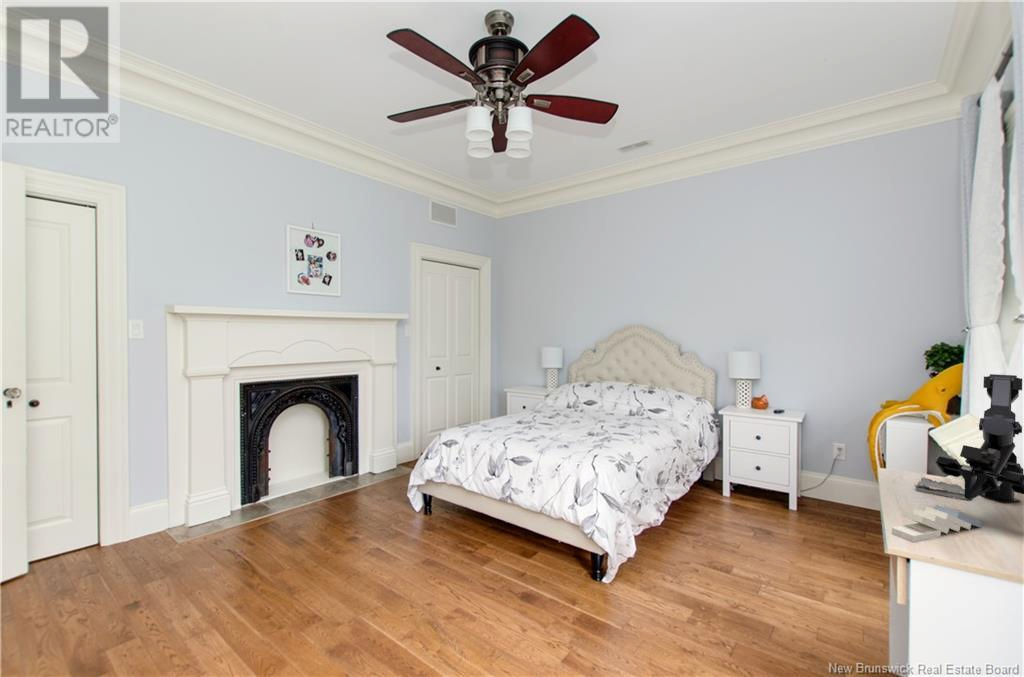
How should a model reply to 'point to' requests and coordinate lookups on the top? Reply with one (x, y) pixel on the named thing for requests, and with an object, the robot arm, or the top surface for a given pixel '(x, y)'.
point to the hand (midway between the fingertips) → (966, 498)
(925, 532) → the domino
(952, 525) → the domino
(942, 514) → the domino
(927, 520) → the domino
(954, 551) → the top surface
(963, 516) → the domino
